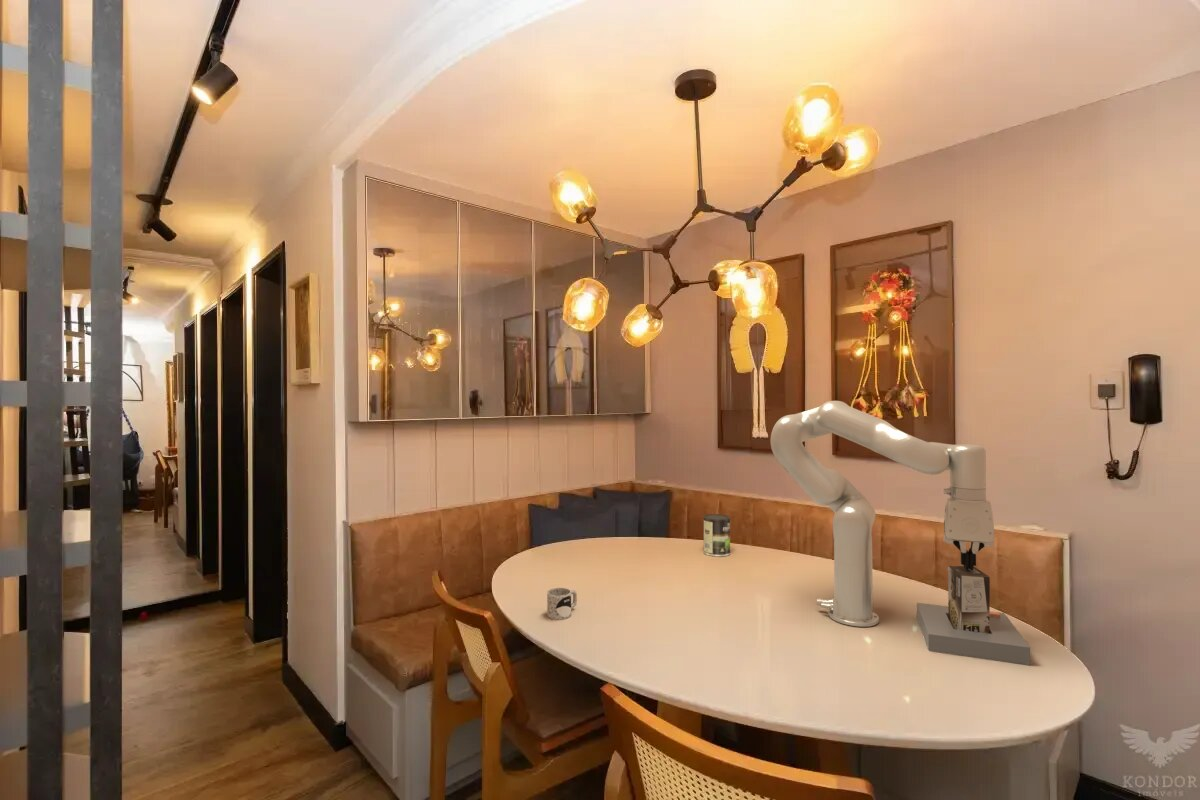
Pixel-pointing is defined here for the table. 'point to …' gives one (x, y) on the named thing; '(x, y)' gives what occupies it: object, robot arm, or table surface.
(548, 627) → the table surface
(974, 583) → the coffee box
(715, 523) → the coffee can
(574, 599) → the mug
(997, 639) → the socket
